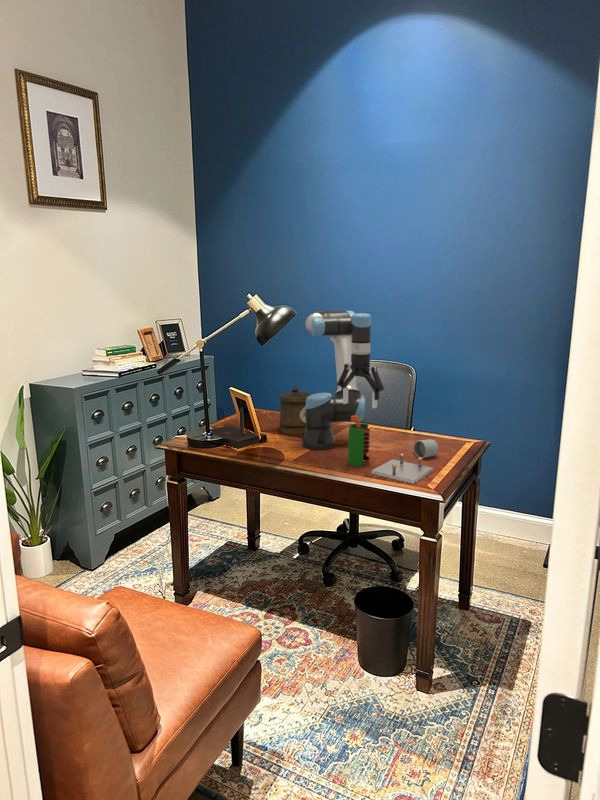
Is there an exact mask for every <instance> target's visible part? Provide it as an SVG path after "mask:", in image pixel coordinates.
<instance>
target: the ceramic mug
mask: <svg viewBox="0 0 600 800" xmlns="http://www.w3.org/2000/svg"><path fill="white" fill-rule="evenodd" d="M439 450H440V447H439V444H438V443H437V441H436V440H434V439H419V440H416V442H415V443H414V444H413V450H412V451H413V454H414V455H415V456H416V457H417V458H418V457H422V459H427V458H431V457H434V456H436V455H438V453H439Z"/></svg>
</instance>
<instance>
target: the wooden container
mask: <svg viewBox="0 0 600 800" xmlns="http://www.w3.org/2000/svg"><path fill="white" fill-rule="evenodd" d="M310 395H311V394H310V393H309V392H305V391H299V387H297V386H293V387H291V391H288V392H281V394H280V397H279V398H280V399H279V401H280V407H279V408H280V411H279V416H280V417H279V423H280V424H279V429H280V430H279V431H280V432H281V433H283V434H287V435H304V434H303V433H304V432H305V429H306V409H305V406H306V399H307V397H308V396H310Z"/></svg>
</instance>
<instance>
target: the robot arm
mask: <svg viewBox="0 0 600 800" xmlns="http://www.w3.org/2000/svg"><path fill="white" fill-rule="evenodd" d="M304 325H305V329H306V330H307V331H308V332H309V333H310V334H311V335H312V336H314V337H329V338H330V341H331V342H332V343H334V344H333V346H334V356H335V359H334V360H335V370H336V382H337V383H336V385H337V390H336V391H335V392H334V396H333V395H332V393H330V392H317V393H313V394H310V396H308V397H307V399H306V406H305V409H306V429H305V432H304V434H302V438H301V446H302V447H304V448H305V449H310V450H319V451H320V450H327V449H329V450H330V449H331V448H334V447H335V446H336V439H335V436H334V432H333V430H332V423H353V422H354V423H356V422H355V421H352V422H351V416H353V415H356V416H358V418H359V421H360V422H361V421H362V420H363V419H364V415H365V409H366V396H365V395H362V394H361V390H359V388H358V387H357V377H360V378H364V379H366V381H367V383H368V384H369V386H370V387H371V389H372V390H373V391H372V395H371V396H372V397H371V398H372V401H371V408H372V409H376V408H378V401H379V400H380V392H382V391H384V390H385V388H384V385H383V383H382V382H383V381H382V380H381V378H380V375H379V373H378V367H377V366H371V365H370V364H371V354H370V353H371V333H372V332H371V331H372V330H371V329H372V328H371V327H372V316H371V314H370V313H362V312H361V313H355V311H353V310H344V309H343V310H319V311H315V312H312V313H311V314H309V315H308V316H307V317H306V318H305V322H304Z"/></svg>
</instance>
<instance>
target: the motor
mask: <svg viewBox="0 0 600 800" xmlns="http://www.w3.org/2000/svg"><path fill="white" fill-rule="evenodd" d="M352 421H355V422H354V423H353V422H352ZM350 423H351V424H349V426H348V444H347V445H348V449H347V450H348V451H347V452H348V453H347V463H348V465H349V464H350V465H349V466H351V465H352V467H355V466H356V467H355V468H363V467H366V465H367V466H369V465H370V463H371V461H370V459H371V457H370V456H368V454H369V453H370V443H371V442H370V436H371V433H370V432H371V429H370V428H369V423H364V422H363V423H361V421H359V418H358V416H356V415H353V416H351V422H350ZM363 460H365V461H363Z"/></svg>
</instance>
